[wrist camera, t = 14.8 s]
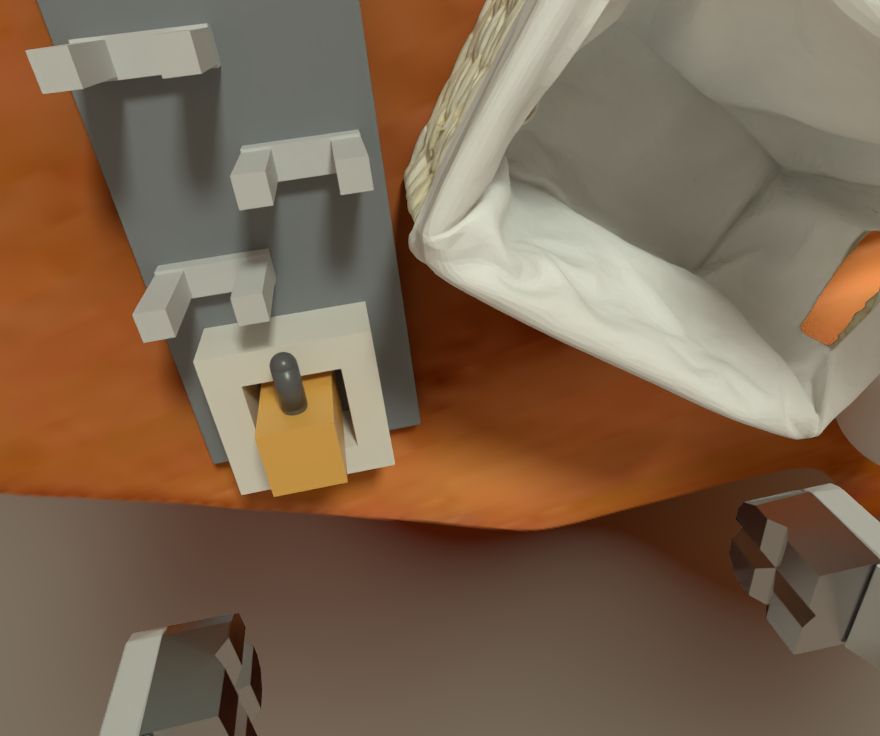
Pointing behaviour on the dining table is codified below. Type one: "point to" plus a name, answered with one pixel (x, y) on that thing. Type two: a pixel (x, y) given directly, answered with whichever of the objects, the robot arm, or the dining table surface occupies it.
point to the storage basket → (666, 190)
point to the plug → (300, 429)
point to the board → (247, 202)
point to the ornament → (864, 422)
